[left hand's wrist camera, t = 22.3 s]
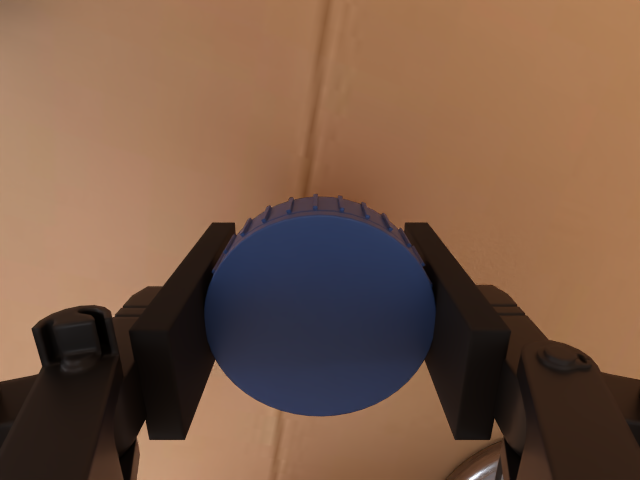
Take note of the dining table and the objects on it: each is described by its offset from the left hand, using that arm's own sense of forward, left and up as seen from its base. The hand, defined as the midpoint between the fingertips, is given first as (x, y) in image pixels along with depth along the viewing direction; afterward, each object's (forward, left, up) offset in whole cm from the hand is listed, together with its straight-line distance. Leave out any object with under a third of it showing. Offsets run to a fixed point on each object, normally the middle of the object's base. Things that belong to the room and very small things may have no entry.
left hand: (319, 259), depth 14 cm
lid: (0, 0, +4) cm, 4 cm away
